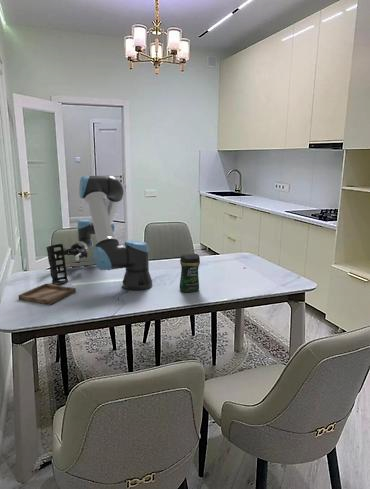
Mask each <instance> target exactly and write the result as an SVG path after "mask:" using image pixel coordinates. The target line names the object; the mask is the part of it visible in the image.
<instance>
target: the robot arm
mask: <svg viewBox="0 0 370 489" xmlns="http://www.w3.org/2000/svg"><path fill="white" fill-rule="evenodd" d="M78 190H79V191H78V193H79V198H80V199H84V202H85V204H87V205H88V206H89V207H88V208H89V212H90V216H91V220H90V219H79V220H77V234H78V235H77V238H78V239H77V242H75V243H74V244H72V245H71V246H70V248H66V247H63V249H64V256H74V259H75V261H76V262H77V261H80V259H82V258H88V251H90V250H91V249H92V248H93V246H94V241H93V239H92V236H94V235H95V238H96V241H97V242H96V243H95V246H94V248H93V249H92V255H93V260H94V264H95V265H96V268H98V270H100V271H111V270H118V269H119V270H120V269H125V273H124V277H123V278H122V288H123V289H125V290H129V291H143V290H149V289H151V287H152V286H153V279H152V276H151V274H150V270H149V266H150V264H149V263H150V262H149V260H150V258H149V257H150V256H149V254H150V251H149V245H148V243H147V242H145V241H141V240H133V239H132V240H131V239H130V240H129V239H128V240H125V241H124V244H120V243H119V239H117V238H115V234H114V232H115V223H114V218H115V216H116V213H117V209H118V207H119V203H120V202H121V201H122V199H123V198H124V197H123V196H124V186H123V184H122V183H121V182H120V180H119V179H118V178H117V177H115V176H113V175H83V176H81V177H80V180H79V188H78ZM91 221H92V222H91ZM58 251H61V249H58V250H54V252H58ZM59 257H62V254H59ZM55 258H56V254H55Z"/></svg>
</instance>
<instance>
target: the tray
mask: <svg viewBox="0 0 370 489" xmlns="http://www.w3.org/2000/svg"><path fill="white" fill-rule="evenodd" d="M75 293H77V288H76V287H71V286H63V285H53V284H51V283H44V284H41V285H39V286H37V287H34V288H32V289H30V290H28V291H26V292H23V293H21V294H18V296H17V297H18V300H19V301H24V302H30V303H31V302H32V303H36V304H42V305H47V306H52V305H54V304H56V303H57V302H59V301H61V300H64V299H66V298H68V297H70V296H71V295H74V294H75Z"/></svg>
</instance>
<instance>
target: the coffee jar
mask: <svg viewBox="0 0 370 489" xmlns="http://www.w3.org/2000/svg"><path fill="white" fill-rule="evenodd" d="M200 259H201V258H200V255H199V254H198V253H183V254H181V256H180V260H179V263H180V266H181V270H180V272H181V273H180V277H179V278H180V279H179V290H180V291H181V292H184V293H193V292H194V293H195V292H198V291H199V290H200V280H199V279H200V278H199V266H200V263H201V260H200Z"/></svg>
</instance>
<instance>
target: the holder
mask: <svg viewBox="0 0 370 489" xmlns="http://www.w3.org/2000/svg"><path fill="white" fill-rule="evenodd" d="M55 248H60V250H61V251H58V252H54V251H55ZM46 251H47V252H46V253H47V258H48V264H49V271H50V275H51V279H52V281H51V282H52V285H58V286H62V285H64V284H65V283H68V282H69V278H68V275H67V274H68V273H67V266H66V259H65V255H64V245H63V244H62V243H57V244H53V245H49V246H46ZM55 254H56V258H55ZM59 254H62V256H59ZM58 261H62V263H61V264H57V262H58ZM61 267H63V270H61ZM59 274H64V276H58V275H59Z"/></svg>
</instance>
